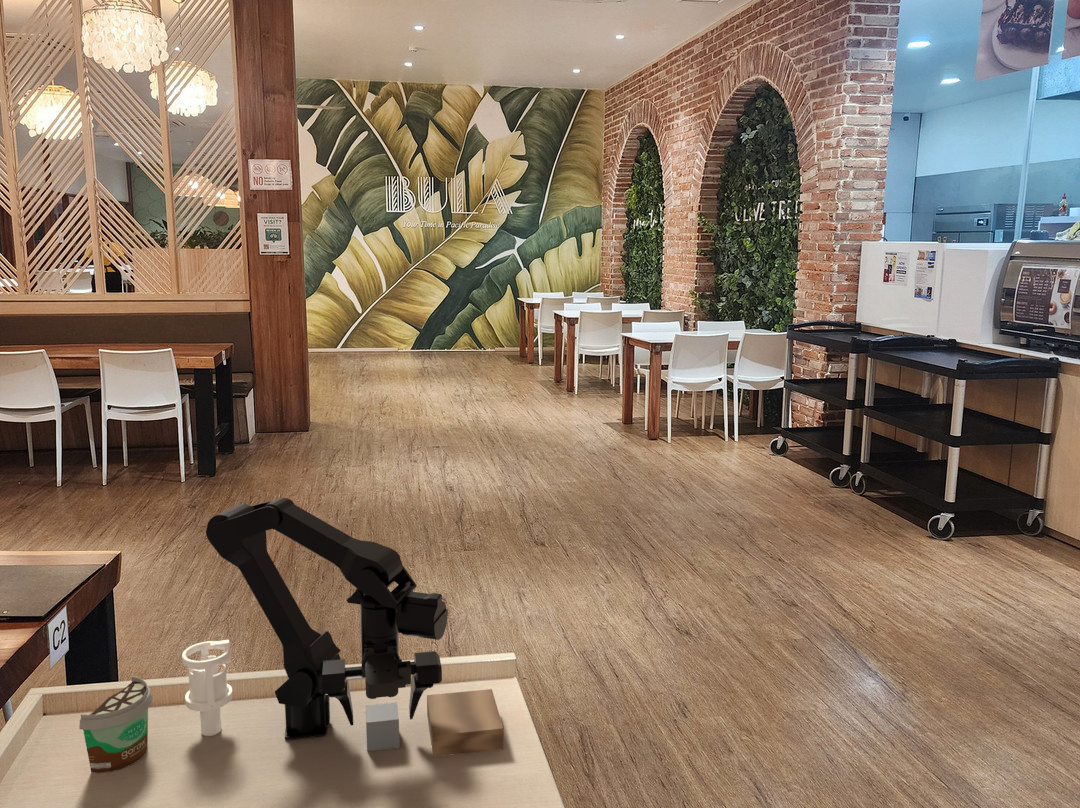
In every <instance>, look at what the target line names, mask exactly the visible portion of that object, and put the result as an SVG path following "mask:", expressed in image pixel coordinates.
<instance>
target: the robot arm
mask: <svg viewBox="0 0 1080 808" xmlns="http://www.w3.org/2000/svg"><path fill="white" fill-rule="evenodd" d="M270 530H275V531H276V532H278V533H280V535H282V536H285V537H286V538H288V539H290V540H292V541H293V542H295V543H297V544H299V545H300V546H302V547H303V548H305V549H308V551H311V552H312V553H314V554H316V555H317V556H319V557H321V558H322V559H324V560H326V561H328V562H330V563H331V564H333V565H334V566H335V567H337V568H338V569H339V570H340V572H341V573H342V575H343V576H344V579H345V580H346V582H348V583H350V584H351V585H352V586H353V587H354V588H355V590H354V592H353V593H352V594H351V595H350V596H349V597H348V598H347V599H346V602H347V603H348V604H353V605H354V604H355V605H360V607H359V608H360V638H361V639H360V640H361V641H360V642H361V666H349V667H346V659H345V658H341V656H340V652H341V649H340V648H339V647H338V646H337V645H336V644H335V641H334V640H333V637H332V634H331V633H330V632H329V631H328V630H326V631H325V632H323V633H322V634H321V633H319V632H318V631H316V630H315V629H313V628H312V627H311V626H310V625H309V623H308V621H307V619H306V617H305V615H304V614H303V612H302V611H301V609H300V607H299V605H298V604H297V602H296V600H295V598H294V596H293V595H292V592H291V591H290V589H289V588H288V586H287V584H286V582H285V580H284V579H283V577H282V575H281V573H280V572H279V570H278V568H277V565H275V563H274V561H273V559H272V558H271V556H270V554H269V551H268V548H267V547H268V544H267V531H270ZM205 535H206V538H207V540H208V542H209V544H211V546H212V548H214V550H215V552H217V554H218V555H219V556H220V557H221V559H224V560H225V561H226V562H228V563H230V564H232V565H233V566H235V567H237V568H238V570H239V572H240V573H241V576H242V577H243V578H244V580H245V582H246V583H247V585H248V587H249V588H250V591H251V592H252V594H253V596H254V598H255V599H256V601H257V603H258V605H259V606H260V608H261V610H262V612H263V613H264V615H265V617H266V619H267V621H268V622H269V624H270V626H271V627H272V629H273V631H274V633H275V634H276V636H277V638H278V640H279V642H280V643H281V645H282V654H283V657H282V659H283V667H284V671H285V673H286V676H287V680H285V681H284V682H283V684H281V685H280V686H279V687H278V688H277V689H276V690H274V694H275V697H276V700H277V703H278V704H280V705H284V712H285V713H284V715H285V717H284V718H285V728H284V729H285V730H284V739H285V740H296V739H304V738H305V739H306V738H314V737H322V736H326V735H327V734H328V726H330V725H331V703H330V698H335V699H337V700H338V701H339V704H341V706H342V709H343V710H344V713H345V716H346V718H347V720H348V723H349V725H350V726H354V710H353V701H352V695H351V689H350V683H349V681H358V680H365V696H366V698H368V699H370V700H375V699H377V698H394V697H397V695H399V689H402V688H406V686H407V685H411V686H410V693H409V695H410V696H409V704H408V706H409V707H408V709H409V710H408V711H409V713H408V714H409V715H408V716H409V720H413V719H414V716H415V713H416V711H417V708H418V705H419V702H420V699H421V697H422V695H423V694H424V692H425V691H426V690H427V689H432V688H433V687H434V684H440V683H441V682H443V669H442V662H441V658H440V654H439V653H438V652H437V651H436V650H435V651H433V650H432V651H423V652H414V657H413V658H414V659H413V660H414V661H411V660H403V659H402V658H401V657H400V650H399V648H400V647H399V646H400V643H399V642H400V641H399V635H400V634H401V635H403V636H407V637H414V638H421V639H422V638H423V639H428V640H429V639H430V640H436V641H439V640H440V641H441V639H442V638H443V636H444V634H445V632H446V628H447V624H448V618H449V617H448V616H449V614H448V613H449V611H448V610H449V609H447V605H446V603H445V601H443V595H442V594H441V593H436V592H435V593H434V592H433V593H425V592H417V591H414V590H415V589H416V588H417V584H416V581H414V580H413V577H412V576H411V575H410V574H409V572H408V571H407V569H406V568H405V566H404V565H403V562H402V560H401V555H400V554H399V552H397V551H396V550H395V549H393V548H391V547H389V546H386V545H382V544H381V543H378V542H374V541H370V540H369V541H368V540H362V539H361V540H360V539H357V538H354V537H352V536H350V535H349V534H347V533H345V532H343V531H342V530H340V529H338V528H336V527H335V526H333V525H331V524H329V523H328V522H326V521H325V520H322V519H321V518H319V517H317V516H315V515H313V514H312V513H310V512H309V511H307V510H305V509H304V508H301V507H300V506H298V505H296V504H295V503H294V502H293V500H291V498H287V497H278V498H276V499H274V500H271V501H270V500H269V501H264V502H260V503H257V504H254V505H249V504H247V503H237V504H236V505H233V506H232V507H231V506H230V508H227V509H225V510H223V511H221V512H219V513H217V514H216V515H214V516H212V517H211V518H210V519H209V520H208V523H207V525H206V530H205ZM395 583H396V584H397V586H396V587H395V588H393V590H390V589H389V588H390V587H391V586H392V585H393V584H395Z"/></svg>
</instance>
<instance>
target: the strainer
mask: <svg viewBox="0 0 1080 808" xmlns="http://www.w3.org/2000/svg"><path fill="white" fill-rule="evenodd" d="M211 649H214V650H221V651H222V654H221V655H219V656H217V655H209V654H210V652H209V650H211ZM198 652H200V654H201V655H200V660H193V659H190V658H189V657H190V656H191V655H193V654H194V653H198ZM181 653H182V654H181V658H182V659H181V660H182V665H184V666H185V667H187V668H188V670H187V671H188V681H189V682H188V683H189V684H188V685H189V690H188V691H187V692H186V693H185V696H184V698H185V699H184V700H185V701H184V702H185V706H186V708H187V709H189V710H191V711H195V712H199V718H200V732H201V735H202V736H205V737H211V736H215V735H218V734H219V733H221V731H222V718H221V708H222V707H224V706H226V705H227V704H229V703H230V702H231V700H232V699H233V696H234V695H233V686H231V685H230V684H229V683H228V680H227V666H226V664H231V661H232V660H231V645H230V640H229V639H223V640H219V641H217V640H210V641H203V642H202V641H201V642H198V643H195V644H193V645H191V646H189V647H187V648H186V649H185V650H183V652H181ZM219 665H222V667H223V669H222V670H221V671H220V672H219V670H218V669H219V668H218V667H219Z"/></svg>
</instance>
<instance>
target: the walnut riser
mask: <svg viewBox="0 0 1080 808" xmlns="http://www.w3.org/2000/svg"><path fill="white" fill-rule="evenodd" d="M426 716H427V717H426V718H427V722H428V731H429V737H430V746H432V747H431V751H432V752H431V753H433V754H432V757H434V758H436V757H443V756H442V755H446V756H451V755H450V754H455V755H462V754H472V753H479V752H480V753H481V752H490V751H491V752H492V751H500V750H504V727H503V723H502V719H501V716H500V713H499V709H498V705H497V702H496V699H495V696H494V690H493V689H492V688H489V689H479V690H467V691H457V692H448V693H436V694H427V695H426Z"/></svg>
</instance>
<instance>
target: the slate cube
mask: <svg viewBox="0 0 1080 808" xmlns="http://www.w3.org/2000/svg"><path fill="white" fill-rule="evenodd" d="M399 716H400V715H399V707H398V702H388V703H387V702H386V703H377V704H367V705H365V726H366V727H365V729H366V730H365V732H366V752H372V751H381V750H382V749H383V750H389V749H388V748H392V749H398V748H397V747H399V748H400V717H399Z"/></svg>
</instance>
